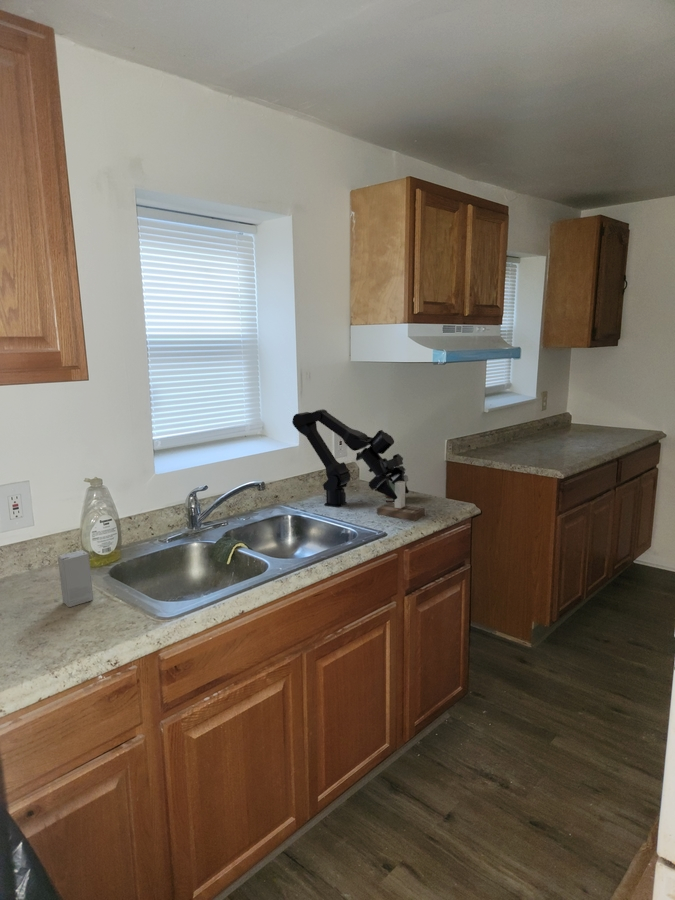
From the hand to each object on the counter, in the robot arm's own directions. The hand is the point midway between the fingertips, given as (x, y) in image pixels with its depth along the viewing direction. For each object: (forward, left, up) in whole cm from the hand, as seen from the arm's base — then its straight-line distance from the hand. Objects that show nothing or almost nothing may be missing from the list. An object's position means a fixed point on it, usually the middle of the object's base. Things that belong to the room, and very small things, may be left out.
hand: (402, 495), depth 210 cm
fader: (-1, 0, -4) cm, 4 cm away
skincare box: (-45, -101, -7) cm, 110 cm away
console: (-1, 0, -7) cm, 7 cm away
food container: (-8, +17, -7) cm, 20 cm away
